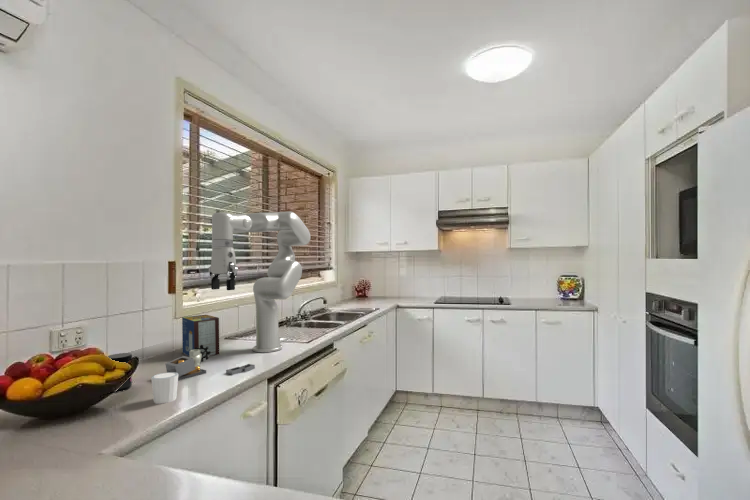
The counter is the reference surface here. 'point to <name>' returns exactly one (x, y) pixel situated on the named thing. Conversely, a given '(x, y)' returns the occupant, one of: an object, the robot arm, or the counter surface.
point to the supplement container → (125, 358)
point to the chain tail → (240, 369)
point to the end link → (181, 365)
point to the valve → (198, 355)
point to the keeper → (192, 373)
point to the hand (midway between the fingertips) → (223, 289)
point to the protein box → (200, 333)
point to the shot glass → (164, 387)
